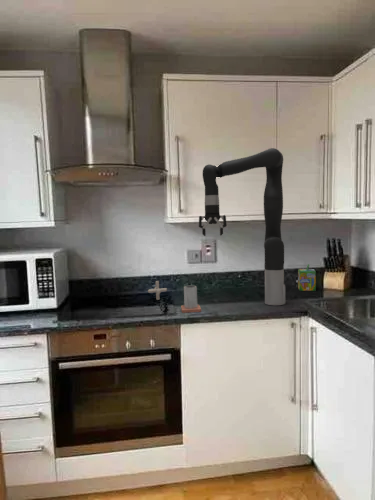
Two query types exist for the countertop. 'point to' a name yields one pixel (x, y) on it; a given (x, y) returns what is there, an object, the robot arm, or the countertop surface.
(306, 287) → the chalk box
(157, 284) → the pipe connector
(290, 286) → the countertop surface
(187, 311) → the shaft block
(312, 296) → the countertop surface
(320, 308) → the countertop surface
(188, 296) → the grey cylinder
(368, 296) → the countertop surface
